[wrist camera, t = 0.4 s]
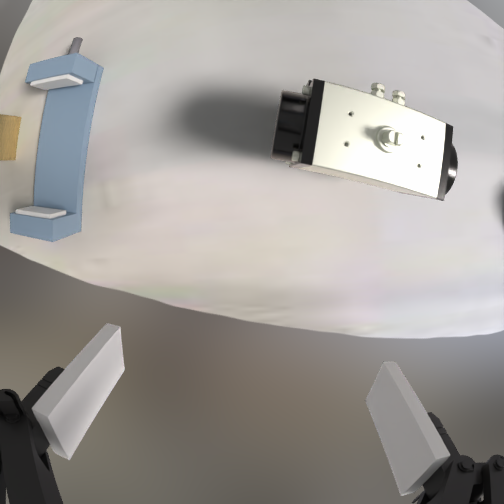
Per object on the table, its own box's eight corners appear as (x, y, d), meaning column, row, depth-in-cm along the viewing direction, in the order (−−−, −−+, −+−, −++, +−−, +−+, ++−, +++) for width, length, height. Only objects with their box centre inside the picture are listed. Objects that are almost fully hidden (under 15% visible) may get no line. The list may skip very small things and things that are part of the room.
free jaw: (59, 46, 30) (39, 36, 24) (106, 37, 30) (87, 22, 24) (46, 92, 32) (24, 86, 26) (92, 86, 32) (70, 76, 26)
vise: (57, 74, 33) (31, 64, 26) (103, 67, 33) (78, 53, 26) (38, 223, 40) (10, 232, 32) (81, 231, 40) (52, 242, 32)
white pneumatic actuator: (401, 136, 35) (480, 120, 18) (392, 193, 37) (471, 209, 20) (277, 104, 34) (289, 50, 17) (267, 165, 37) (272, 156, 19)
